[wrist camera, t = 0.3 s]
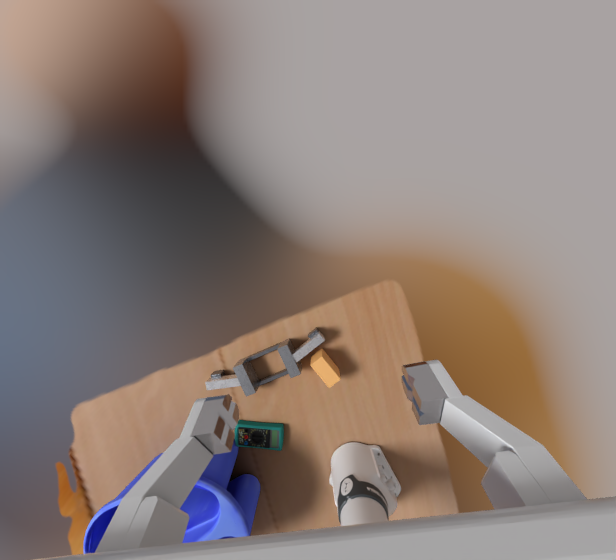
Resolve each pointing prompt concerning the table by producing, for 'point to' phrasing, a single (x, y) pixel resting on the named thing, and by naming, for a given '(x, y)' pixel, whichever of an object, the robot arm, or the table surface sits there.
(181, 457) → the robot arm
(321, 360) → the light orange rectangular block
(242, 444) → the digital multimeter
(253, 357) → the grey long piece
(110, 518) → the caddy
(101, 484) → the table surface
